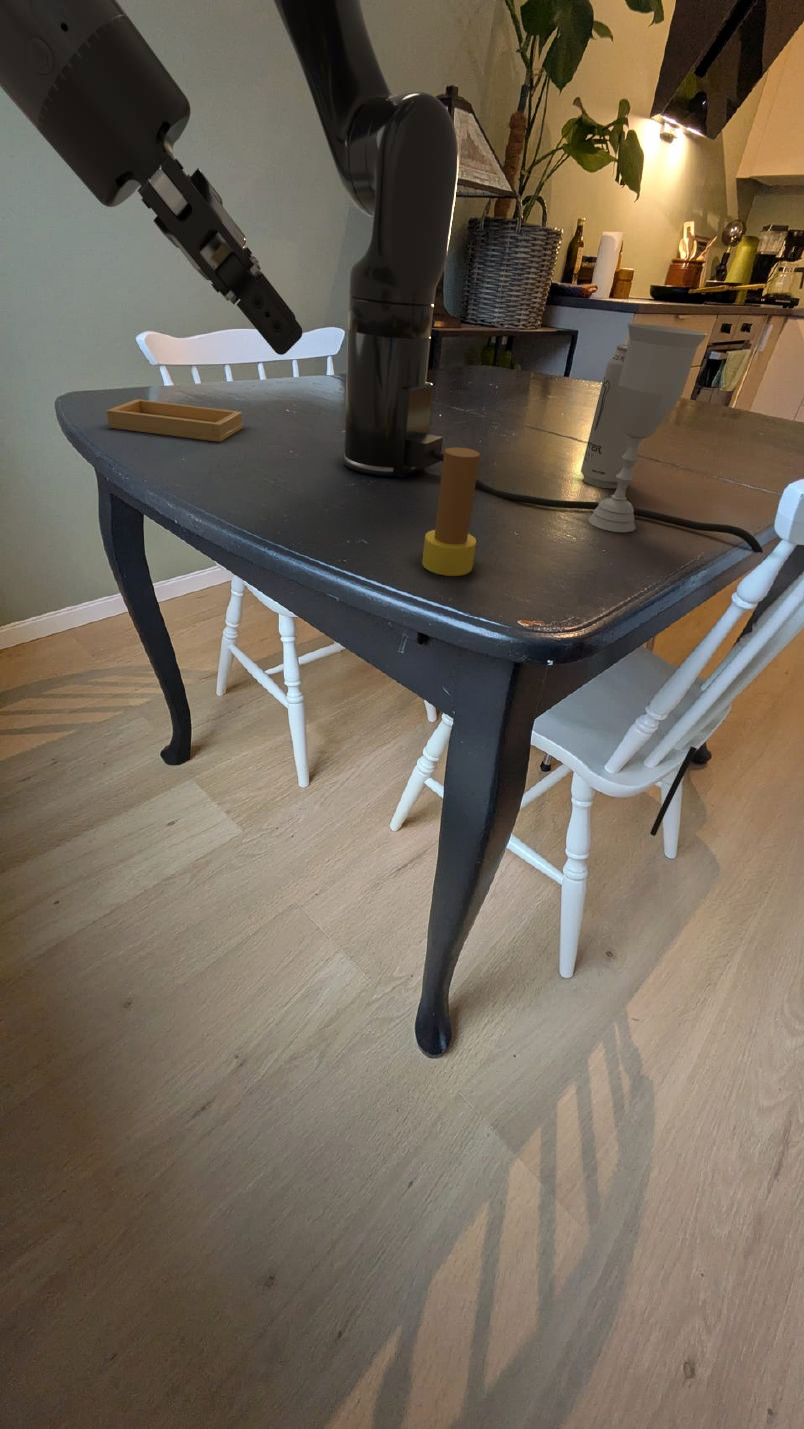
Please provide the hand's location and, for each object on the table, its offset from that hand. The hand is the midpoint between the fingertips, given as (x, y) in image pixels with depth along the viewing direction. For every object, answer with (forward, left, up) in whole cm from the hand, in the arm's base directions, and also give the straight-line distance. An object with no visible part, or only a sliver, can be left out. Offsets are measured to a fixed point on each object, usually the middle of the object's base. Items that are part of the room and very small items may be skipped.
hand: (290, 337), depth 43 cm
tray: (+38, -25, -16) cm, 49 cm away
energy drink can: (-15, -45, -17) cm, 50 cm away
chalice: (-20, -30, -17) cm, 39 cm away
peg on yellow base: (-11, -8, -16) cm, 21 cm away
